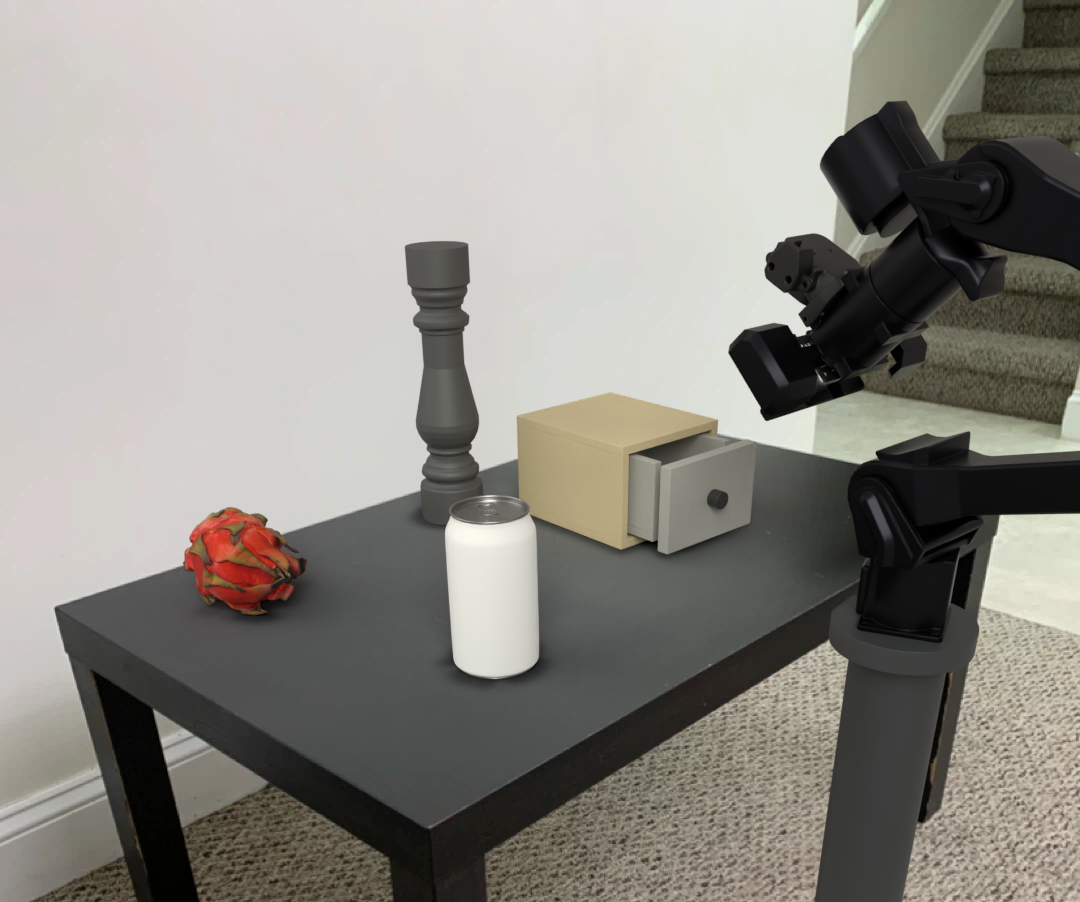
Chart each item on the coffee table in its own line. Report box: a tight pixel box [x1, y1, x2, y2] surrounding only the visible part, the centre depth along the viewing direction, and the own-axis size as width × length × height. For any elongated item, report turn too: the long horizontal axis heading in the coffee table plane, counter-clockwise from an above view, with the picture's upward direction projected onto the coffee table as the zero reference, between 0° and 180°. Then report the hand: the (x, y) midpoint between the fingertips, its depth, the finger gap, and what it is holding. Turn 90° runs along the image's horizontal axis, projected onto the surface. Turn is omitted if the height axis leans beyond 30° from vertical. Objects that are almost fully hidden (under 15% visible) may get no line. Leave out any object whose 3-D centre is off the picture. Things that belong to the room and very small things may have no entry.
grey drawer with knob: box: [627, 433, 758, 555], centre depth 102 cm, size 15×11×8 cm
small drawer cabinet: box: [516, 391, 719, 551], centre depth 106 cm, size 15×13×10 cm
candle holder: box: [404, 240, 484, 527], centre depth 103 cm, size 6×6×25 cm
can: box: [444, 494, 540, 681], centre depth 79 cm, size 6×6×12 cm
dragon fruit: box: [182, 506, 308, 616], centre depth 90 cm, size 8×8×12 cm
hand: (765, 415), depth 91 cm, fingers closed
